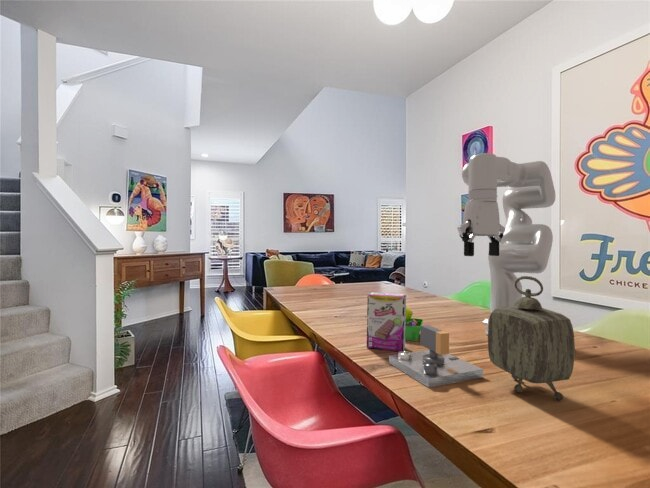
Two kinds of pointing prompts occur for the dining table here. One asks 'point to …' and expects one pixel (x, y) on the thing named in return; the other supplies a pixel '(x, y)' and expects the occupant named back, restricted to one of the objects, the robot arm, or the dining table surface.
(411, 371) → the levelling base
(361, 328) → the dining table surface
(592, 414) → the dining table surface
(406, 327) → the fruit basket
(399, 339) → the candy bar box
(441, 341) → the knob
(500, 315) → the tabletop clock
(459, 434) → the dining table surface
